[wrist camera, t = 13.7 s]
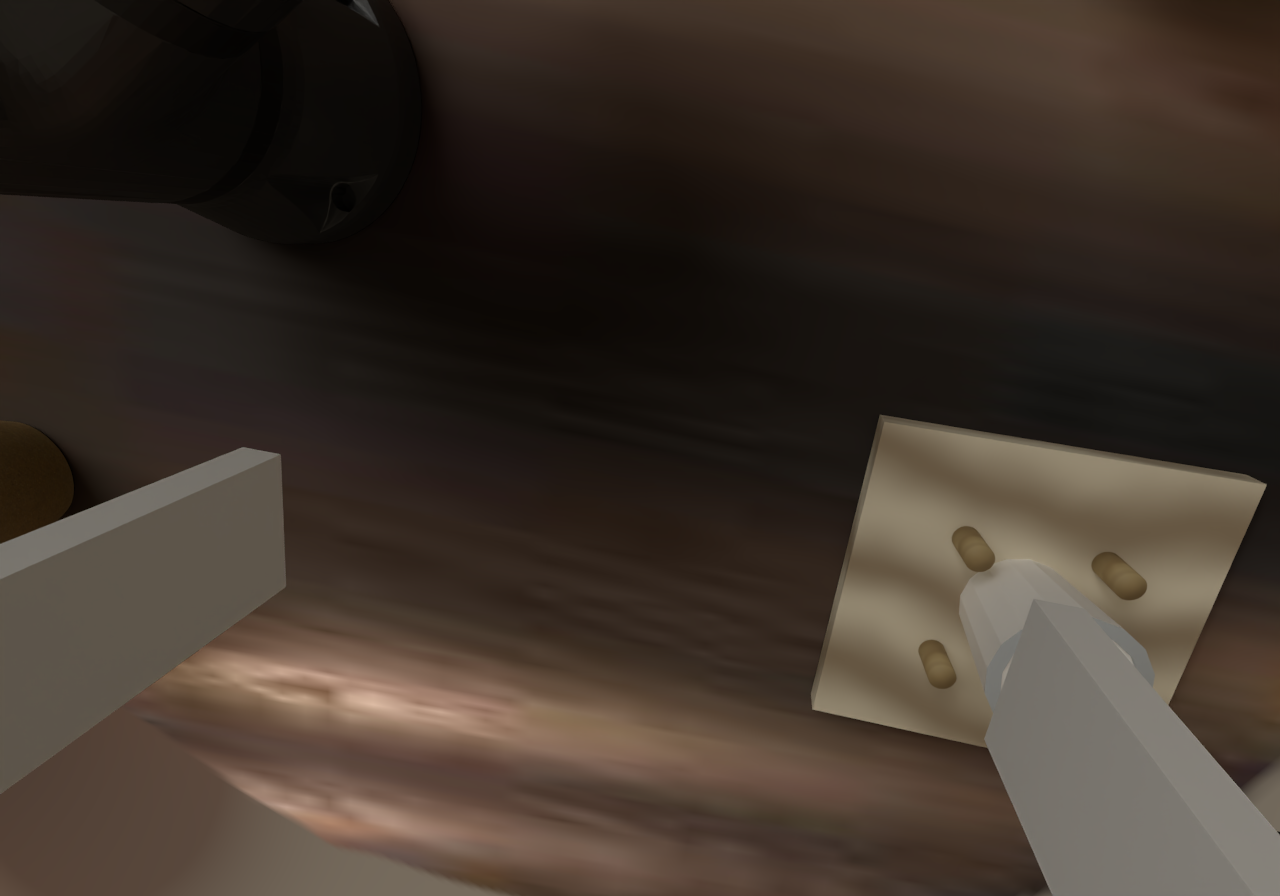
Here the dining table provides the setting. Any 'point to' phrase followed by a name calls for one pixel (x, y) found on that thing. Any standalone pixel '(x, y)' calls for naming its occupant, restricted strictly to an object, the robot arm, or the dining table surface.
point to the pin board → (1013, 529)
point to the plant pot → (31, 481)
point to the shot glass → (1024, 618)
